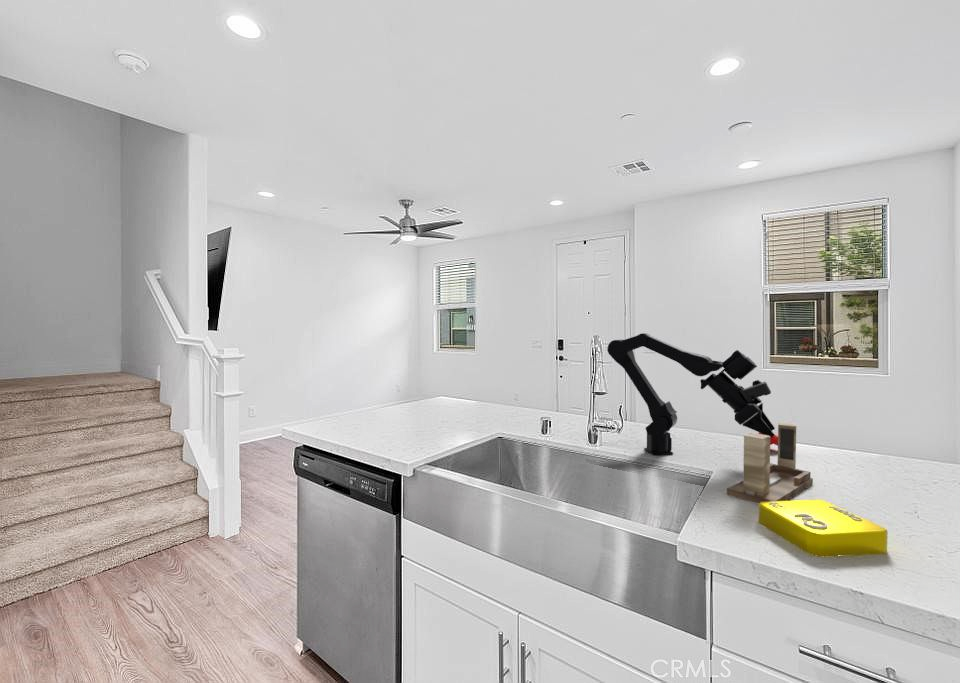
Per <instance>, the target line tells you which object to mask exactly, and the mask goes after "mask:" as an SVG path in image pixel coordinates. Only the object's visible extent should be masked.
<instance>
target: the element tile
mask: <svg viewBox="0 0 960 683" xmlns="http://www.w3.org/2000/svg"><path fill="white" fill-rule="evenodd" d="M758 523H759V524H760V525H762V526H763V527H764V528H766V529H767V530H769V531H770V532H772V533H774V534H775V535H777V536H779V537H781V538H782V539H784V540H785V541H787V542H788V541H789V542H788V543H790V544H792V545H793V544H794V545H793V546H795V545H796V546H797V548H798V547H799V548H798V549H799V550H801V549H802V550H801V551H803V552H805V553H806V552H807V554H809V553H810V554H809V555H811V554H813V555H812V556H815V555H817V556H816V557H820V556H824V557H823V558H827V557H826V556H834V557H839V556H838V555H852V556H869V554H871V555H884V554H886V553H887V552H888V529H886V528H885V527H884V526H881V525H879V524H877V523H875V522H873V521H870V520H869V519H866V518H864V517H862V516H859V515H857V514H855V513H853V512H851V511H848V510H846V509H844V508H842V507H839V506H837V505H835V504H833V503H830V502H829V501H827V500H824V499H818V498H817V499H798V500H796V499H795V500H794V499H793V500H787V501H769V502H760V503H759V504H758ZM796 546H795V547H796ZM866 554H867V555H866Z"/></svg>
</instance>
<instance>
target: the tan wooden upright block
mask: <svg viewBox="0 0 960 683" xmlns="http://www.w3.org/2000/svg"><path fill="white" fill-rule="evenodd" d="M777 423H778V424H777V426H778V427H777V429H778V430H777V436H778V446H777V465H781V466H785V467H790V468H795V469H796V463H797V462H796V461H797V460H796V459H797V458H796V457H797V454H796V453H797V424H796V423H793V422H784V421H777Z"/></svg>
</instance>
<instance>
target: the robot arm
mask: <svg viewBox="0 0 960 683" xmlns="http://www.w3.org/2000/svg"><path fill="white" fill-rule="evenodd" d="M642 347H644V348H646V349H648V350H651V351H652V352H655V353H657V354H659V355H662V357H663V356H664V357H666V358H668V359H670V360H672V361H674V362H676V363H677V364H679V365H681V366H682V367H683V368H685V369H686V370H687V371H688V372H690V373H692V374H693V375H694V376H696V377H705V376H707V375H709V374H710V373H711V374H710V375H709V376H707V378H705V379H703V378H702V379H700V381H699V382H700V389H701V390H704V389H705V388H706V387H707V386H708V387H709V388H710V389H711V390H712V391H713V393H715V394H717V396H718V397H719V398H721V401H722V402H723V403H724V404H726V405H728V406H729V407H730V409H732V410H733V413H734V420H735V422H737V423H738V424H739V426H741V425H742V426H743V427H746V428H748V429H751V430H752V431H755V432H757V433H759V432H760V433H762V434H764V435H767V436H770V437H773V436H774V434H775V433H774V432H773V430H775V429H776V428H775V426H774V424H773V423H772V422H771V420H770V419H769V417H767V415H766V413H765V412H764V411H763V408H764V407H763V406H764V402H762V400H761V399H760V398H759V397H762V396H768V395H771V393H772V391H771V389H770V387H769V386H768V383H767V382H766V381H760V379H757V380H753V381H752V384H751V386H749V387H743V386H742V385H738V384H737V383H736V382H735V381H734V380H737V379H738V380H741V381H742V379H744V378H745V377H746V376H748V375H749V374H750V373H752V371H754V370H755V369H756V368H757V367H758V366H757V364H756V363H755V362H754V361H753V360H752V359H751V358H750V357H748V356H746V355H745V354H744V353H742V352H741V351H740V350H738V349H736V350H734V352H732V354H731V355H730V356H729V357H728V358H727V359H725V360H724V361H721V360H720V361H719V360H718V361H717V360H713V359H712V358H711V357H709V356H708V355H704V354H703V355H702V354H699V353H695V352H691V351H687V350H684V349H681V348H679V347H677V346H674V345H672V344H670V343H668V342H666V341H663V340H661V339H659V338H657V337H654V336H652V335H651V334H650V333H645V332H644V333H639V334H638V335H635V336H632V337H629V338H625V339H613V340H612V341H610V342H609V344H608V345H607V349H606V350H607V353H608V355H609V356H610V357H611V358H612V359H613V360H614V362H616V363H617V364H619V366H621V367H622V368H623V370H624V371H625V372H626V374H627V375H628V377H629V379H630V380H631V382H632V383H633V385H634V387H635V388H636V390H637V391H638V393H639V395H640V396H641V397H642V399H643V401H644V402H645V404H646V406H647V408H648V412H649V416H650V418H651V421H652V422H651V423H649V424H648V425H647V426H646V427H645V431H646V447H644V448H643V449H644V450H645V452H648V453H650V454H652V455H653V456H665V455H674V452H673V451H672V449H673V448H672V447H673V446H672V444H673V443H672V441H673V440H672V439H673V438H672V437H671V432H669V431H670V430H671V429H672V428H673V427H674V426H675V425H676V424H677V422H678V415H677V413H678V412H677V410H675V408H674V407H673V406H672V403H671V401H667V402H665V401H663V400H662V399H661V398H660V396H659V394H658V393H657V391H656V390H655V389H654V387H653V386H652V384H651V382H650V381H649V379H648V378H647V376H646V375H645V374H644V372H643V370H642V369H641V368H640V366H639V364H638V362H637V361H636V357H635V353H634V351H635V350H636V349H639V348H642ZM722 368H723V369H722ZM720 369H722V370H721V371H720V372H718V373H717V374H715V373H712V372H716V371H719V370H720ZM644 450H643V451H644Z"/></svg>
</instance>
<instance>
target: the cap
mask: <svg viewBox="0 0 960 683" xmlns="http://www.w3.org/2000/svg"><path fill="white" fill-rule="evenodd" d="M757 434H762V433H760V432H757ZM762 435H764V434H762ZM772 445H775V446H777V447H778V435H777V434H775V433H774V436H773V437H770V446H772Z"/></svg>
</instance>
